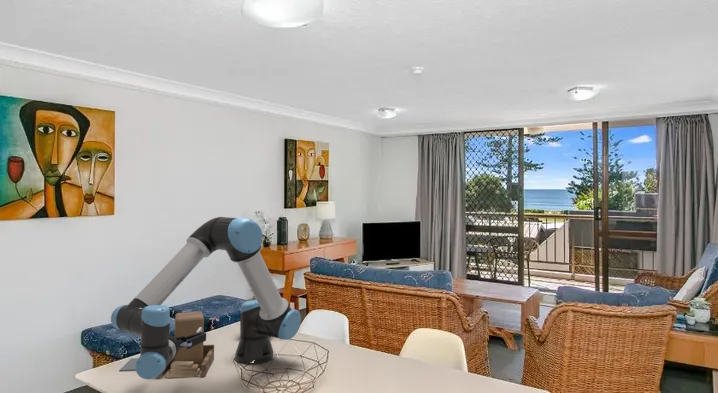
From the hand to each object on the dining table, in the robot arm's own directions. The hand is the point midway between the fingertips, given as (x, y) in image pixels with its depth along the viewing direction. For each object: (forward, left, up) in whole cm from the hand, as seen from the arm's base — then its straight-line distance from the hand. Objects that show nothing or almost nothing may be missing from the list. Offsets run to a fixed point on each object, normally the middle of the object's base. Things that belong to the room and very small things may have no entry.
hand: (181, 331), depth 161 cm
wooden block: (-10, +1, -17) cm, 20 cm away
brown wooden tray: (-9, 0, -17) cm, 19 cm away
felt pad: (-14, -17, -17) cm, 28 cm away
